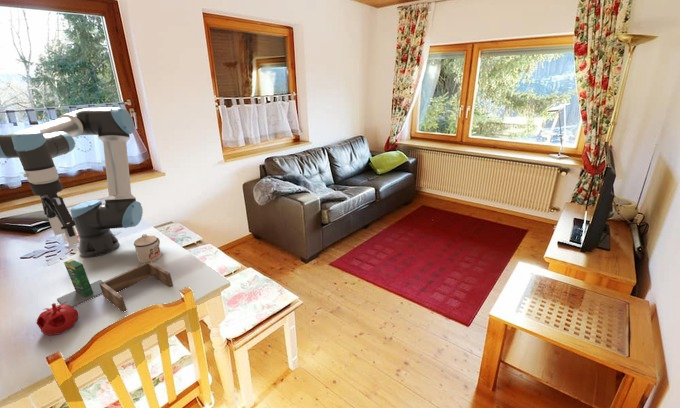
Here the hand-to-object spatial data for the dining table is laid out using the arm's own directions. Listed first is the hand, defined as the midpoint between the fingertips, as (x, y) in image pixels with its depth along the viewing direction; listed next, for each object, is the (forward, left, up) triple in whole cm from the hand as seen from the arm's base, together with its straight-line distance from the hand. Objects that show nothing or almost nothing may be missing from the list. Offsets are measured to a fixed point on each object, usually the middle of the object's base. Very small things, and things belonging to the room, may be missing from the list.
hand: (66, 238), depth 112 cm
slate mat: (0, -1, -23) cm, 23 cm away
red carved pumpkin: (+14, -12, -23) cm, 29 cm away
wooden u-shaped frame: (+16, +11, -23) cm, 30 cm away
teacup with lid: (-6, +27, -23) cm, 36 cm away
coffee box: (0, -1, -23) cm, 23 cm away
